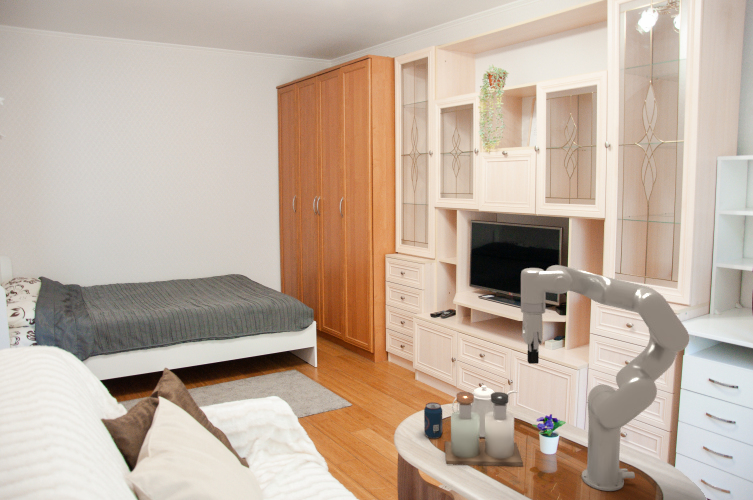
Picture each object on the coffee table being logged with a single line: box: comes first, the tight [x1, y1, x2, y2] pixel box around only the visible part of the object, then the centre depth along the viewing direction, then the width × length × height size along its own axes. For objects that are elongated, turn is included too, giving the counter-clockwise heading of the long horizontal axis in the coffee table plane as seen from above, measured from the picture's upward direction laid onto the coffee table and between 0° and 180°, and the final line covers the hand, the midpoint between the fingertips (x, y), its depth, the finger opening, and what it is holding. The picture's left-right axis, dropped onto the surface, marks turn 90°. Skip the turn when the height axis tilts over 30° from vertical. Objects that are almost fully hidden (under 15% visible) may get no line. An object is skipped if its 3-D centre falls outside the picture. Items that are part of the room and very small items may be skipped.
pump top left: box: [491, 391, 509, 405], centre depth 196 cm, size 6×6×8 cm
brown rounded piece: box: [456, 391, 474, 404], centre depth 197 cm, size 6×6×8 cm
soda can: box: [423, 402, 444, 439], centre depth 214 cm, size 7×7×12 cm
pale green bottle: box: [450, 403, 480, 458], centre depth 198 cm, size 10×10×18 cm
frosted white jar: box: [484, 403, 515, 459], centre depth 197 cm, size 10×10×18 cm
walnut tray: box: [444, 440, 524, 467], centre depth 198 cm, size 26×14×2 cm, turn 85°
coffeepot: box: [451, 384, 519, 439], centre depth 215 cm, size 11×25×19 cm, turn 84°
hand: (533, 362), depth 179 cm, fingers closed
